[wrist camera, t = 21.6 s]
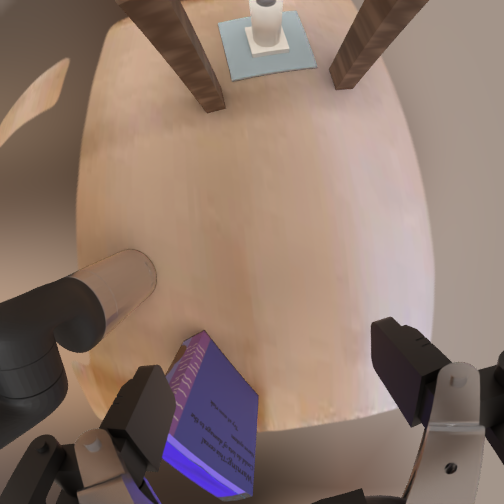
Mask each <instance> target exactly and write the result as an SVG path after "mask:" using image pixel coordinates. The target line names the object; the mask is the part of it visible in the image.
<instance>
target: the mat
mask: <svg viewBox="0 0 504 504" xmlns="http://www.w3.org/2000/svg"><path fill="white" fill-rule="evenodd" d="M218 26H219V30H220V34H221V38H222V42H223V46H224V50H225V54H226V58H227V62H228V66H229V70H230V74H231V78H232V82H234V81H238V80H243V79H247V78H252V77H257V76H263V75H268V74H274V73H281V72H287V71H295V70H302V69H311V68H317V64H316V61H315V58H314V55H313V52H312V49H311V47H310V44H309V41H308V39H307V36H306V33H305V31H304V28H303V26H302V23H301V21H300V18H299V16H298V14H297V11H287V12H282V28H283V31H284V34H285V37H286V39H287V42H288V45H289V48H290V49H289V53H282V54H275V55H268V56H262V57H257V58H253V57H252V54H251V50H250V46H249V43H248V40H247V36H246V33H245V27H251V26H252V24H251V16H250V17H245V18H239V19H234V20H230V21H225V22H221V23H218Z"/></svg>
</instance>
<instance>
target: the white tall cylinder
mask: <svg viewBox="0 0 504 504" xmlns="http://www.w3.org/2000/svg"><path fill="white" fill-rule="evenodd" d="M249 6H250V15H251V24H252V26H251V27H245V33H246V36H247V40H248V43H249V46H250V50H251V54H252V57H253V58H257V57H262V56H268V55H275V54H282V53H289V49H290V48H289V45H288V42H287V39H286V37H285V34H284V31H283V28H282V11H283V0H249Z"/></svg>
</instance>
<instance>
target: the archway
mask: <svg viewBox="0 0 504 504" xmlns="http://www.w3.org/2000/svg"><path fill="white" fill-rule="evenodd" d="M428 1H429V0H364V2H363V4H362V6H361V8H360V10H359V12H358V14H357V16H356V18H355V20H354V22H353V24H352V26H351V27H350V29H349V31H348V33H347V35H346V37H345V39H344V41H343V43H342V45H341V47H340V49H339V51H338V53H337V55H336V57H335V59H334V61H333V63H332V65H331V67H330V69H329V71H330V73H331V76H332V79H333V83H334V86H335V89H336V90H341V89H353V88H354V86H355V85H356V84H357V83H358V82H359V80H360V79H361V78H362V77H363V76H364V74H365V73H366V72H367V71H368V70H369V69H370V67H371V66H372V65H373V64H374V63H375V61H376V60H377V59H378V58H379V57H380V56H381V54H382V53H383V52H384V51H385V50H386V49H387V47H388V46H389V45H390V44H391V43H392V41H393V40H394V39H395V38H396V37H397V36H398V35H399V33H400V32H401V31H402V30H403V29H404V28H405V27H406V26H407V24H408V23H409V22H410V21H411V20H412V19H413V18H414V16H415V15H416V14H417V13H418V12H419V11H420V10H421V8H423V6H424V5H425V4H426V3H427V2H428ZM115 2H116V3H117V4H118V5H119V6H120V7H121V8H122V9H123V10H124V12H125V13H126V14H127V15H128V16H129V17H130V19H131V20H132V21H133V22H134V23H135V24H136V25H137V27H138V28H139V29H140V30H141V31H142V32H143V34H144V35H145V36H146V37H147V38H148V40H149V41H150V42H151V43H152V44H153V46H154V47H155V48H156V49H157V50H158V52H159V53H160V54H161V55H162V56H163V58H164V59H165V60H166V61H167V63H168V64H169V65H170V66H171V67H172V69H173V70H174V71H175V72H176V74H177V75H178V76H179V77H180V79H181V80H182V81H183V83H184V84H185V85H186V86H187V88H188V89H189V90H190V91H191V93H192V94H193V95H194V97H195V98H196V99H197V100H198V102H199V103H200V104H201V106H202V107H203V108H204V110H205V111H206V112H207V113H210V112H214V111H218V110H221V109H226V108H225V103H224V99H223V94H222V90H221V86H220V84H219V82H218V80H217V78H216V75H215V73H214V71H213V69H212V67H211V64H210V62H209V60H208V58H207V56H206V54H205V52H204V49H203V47H202V45H201V43H200V41H199V39H198V37H197V35H196V33H195V31H194V28H193V26H192V24H191V22H190V20H189V18H188V16H187V14H186V12H185V10H184V8H183V6H182V4H181V2H180V0H115Z"/></svg>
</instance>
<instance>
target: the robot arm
mask: <svg viewBox="0 0 504 504" xmlns="http://www.w3.org/2000/svg"><path fill="white" fill-rule="evenodd" d="M155 286H156V272H155V269H154V266H153V264H152V263H151V261H150V260H149V259H148V257H147V256H145V255H144V254H143V253H141V252H139V251H137V250H124V251H121V252H119V253H117V254H114V255H112V256H110V257H107V258H105V259H103V260H101V261H98V262H96V263H94V264H92V265H89V266H87V267H85V268H83V269H81V270H78V271H76V272H74V273H72V274H70V275H68V276H66V277H64V278H61V279H59V280H57V281H55V282H52V283H49V284H46V285H43V286H40V287H37V288H35V289H33V290H31V291H29V292H26V293H24V294H22V295H19V296H17V297H15V298H12V299H10V300H7V301H4V302H2V303H0V449H2V448H3V447H5V446H6V445H7V444H9V443H11V442H12V441H14V440H15V439H16V438H18V437H19V436H21V435H22V434H24V433H25V432H26V431H28V430H30V429H31V428H33V427H34V426H35V425H37V424H38V423H39V422H41V421H42V420H44V419H45V418H46V417H47V416H49V415H50V414H51V413H52V412H53V411H55V409H56V408H57V407H58V406H59V405H60V404H61V403H62V401H63V400H64V398H65V396H66V394H67V390H68V380H67V376H66V373H65V369H64V366H63V363H62V360H61V357H60V354H59V351H58V347H57V344H56V342H57V343H59V345H61V346H62V347H64V348H65V349H67V350H69V351H72V352H76V353H83V352H87V351H89V350H91V349H92V348H93V347H94V346H96V345H97V344H98V343H99V342H100V341H101V340H102V339H103V338H104V337H105V336H106V335H107V334H108V333H109V332H110V331H111V330H112V329H113V328H114V327H116V326H117V325H118V324H119V323H120V322H121V321H122V320H123V319H124V318H125V317H126V316H128V315H129V314H130V313H131V312H132V311H133V310H134V309H135V308H136V307H137V306H138V305H140V304H141V303H142V302H143V301H144V300H145V299H146V298H147V297H149V296H150V295H151V293H152V292H153V291H154V288H155ZM371 358H372V363H373V367H374V369H375V371H376V373H377V374H378V376H379V377H380V379H381V381H382V382H383V384H384V385H385V387H386V388H387V390H388V391H389V393H390V395H391V396H392V398H393V399H394V401H395V403H396V404H397V406H398V407H399V409H400V411H401V412H402V414H403V415H404V417H405V418H406V420H407V422H408V423H409V425H410V427H414V426H416V425H418V424H420V423H422V424H423V426H424V427H425V429H424V432H423V436H422V440H421V443H420V447H419V450H418V454H417V457H416V460H415V463H414V466H413V469H412V472H411V475H410V478H409V481H408V483H407V485H406V488H405V490H404V492H403V495H402V497H401V498H400V497H393V496H381V495H379V496H364V493H363V490H362V488H361V489H358V490H355V491H351V492H348V493H345V494H341V495H337V496H334V497H329V498H325V499H321V500H319V501H317V502H314V503H312V504H474V503H475V498H476V494H477V489H478V484H479V479H480V473H481V466H482V458H483V450H484V440H485V437H486V438H487V440H488V441H489V443H490V444H491V446H492V447H493V449H494V450H495V452H496V453H497V455H498V457H499V458H500V460H501V461H502V463H503V465H504V351H503V352H502V353H501V354H500V356H499V359H498V362H497V365H495V366H492V367H488V368H484V369H480V370H477V369H476V368H475V367H474V366H473V365H471V364H468V363H465V362H454V363H452V362H451V361H450V360H449V359H448V358H447V357H446V356H445V355H444V354H443V353H442V352H441V351H440V350H439V349H438V348H436V347H435V346H434V345H433V344H431V342H430V341H429V340H428V339H427V338H425V337H424V335H423V334H422V333H420V332H419V331H418V330H417V329H415V328H412V327H410V326H407V325H404V326H401V325H400V324H398V323H397V322H396V321H395V320H394V319H393V318H392V317H388V318H384V319H381V320H378V321H375V322H372V324H371ZM175 410H176V400H175V396H174V394H173V392H172V389H171V387H170V385H169V383H168V381H167V379H166V377H165V375H164V372H163V370H162V368H161V367H160V366H159V365H149V366H140V367H139V368H138V370H137V372H136V373H135V375H134V377H133V379H130V380H129V381H128V382H127V383H126V384H124V385H123V386H122V387H121V389H120V391H119V393H118V394H117V398H115V400H114V401H113V405H111V407H110V409H109V411H108V412H107V414H106V416H105V418H104V420H103V421H102V423H101V425H100V427H99V429H98V428H97V429H91V430H88V431H86V432H84V433H82V434H81V435H80V436H79V437H78V438H77V440H76V442H75V444H67V445H60V444H59V442H58V441H57V440H56V439H55V438H54V437H53V436H52V435H41V436H39V437H37V438H36V439H34V440H33V441H32V442H31V444H30V445H29V447H28V448H27V450H26V452H25V453H24V455H23V457H22V458H21V460H20V462H19V464H18V465H17V467H16V469H15V471H14V472H13V474H12V476H11V478H10V480H9V481H8V483H7V485H6V487H5V489H4V490H3V492H2V494H1V496H0V504H46V497H47V494H48V492H49V490H50V488H51V486H52V483H53V481H54V482H55V483H56V484H57V485H58V486H60V487H61V488H62V490H61V492H60V495H59V497H58V500H57V502H56V504H161V502H160V501H159V499H158V498H157V496H156V494H155V493H154V491H153V490H152V488H151V486H150V484H149V483H148V481H147V480H146V478H145V477H144V475H145V472H146V471H152V472H158V470H159V466H160V462H161V459H162V455H163V452H164V448H165V445H166V441H167V437H168V434H169V430H170V427H171V423H172V420H173V416H174V413H175Z"/></svg>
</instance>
